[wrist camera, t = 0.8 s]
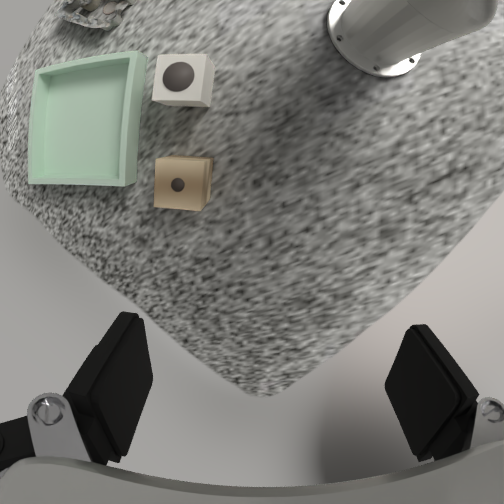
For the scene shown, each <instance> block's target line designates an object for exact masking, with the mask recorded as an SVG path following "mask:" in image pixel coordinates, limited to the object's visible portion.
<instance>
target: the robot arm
mask: <svg viewBox="0 0 504 504" xmlns="http://www.w3.org/2000/svg"><path fill="white" fill-rule="evenodd" d="M340 4H341V5H340ZM497 6H498V0H336V1H335V2H334V3H333V4H332V6H331V8H330V10H329V13H328V16H327V27H328V32H329V35H330V38H331V40H332V42H333V44H334V46H335V47H336V49H337V50H338V51H339V52H340V54H341V55H342V56H343V57H344V58H345V59H346V60H347V61H348V62H349V63H351V64H352V65H354V66H355V67H357V68H358V69H360V70H362V71H364V72H366V73H369V74H372V75H375V76H379V77H396V76H400V75H402V74H405V73H407V72H409V71H410V70H412V69H413V68H414V67H415V66H416V65H417V63H418V61H419V59H420V56H421V53H422V52H424V51H426V50H429V49H431V48H434V47H436V46H438V45H441V44H443V43H446V42H448V41H451V40H454V39H456V38H459V37H462V36H464V35H467V34H470V33H472V32H475V31H478V30H480V29H482V28H484V27H486V26H487V25H488V24H489V23H490V22H491V21H492V19H493V18H494V16H495V13H496V10H497ZM337 39H339V40H340V41H338V40H337ZM409 61H410V62H409ZM373 68H375V69H376V71H375V70H374V69H373ZM152 381H153V373H152V368H151V363H150V357H149V351H148V345H147V339H146V333H145V326H144V320H143V319H142V318H139V316H138V314H137V313H130V312H121V313H120V314H119V315H118V317H117V318H116V320H115V321H114V322H113V324H112V325H111V327H110V328H109V329H108V331H107V332H106V334H105V335H104V337H103V338H102V340H101V341H100V342H99V344H98V345H96V346H95V347H94V348H93V349H92V351H91V352H90V354H89V355H88V357H87V358H86V360H85V361H84V363H83V365H82V366H81V368H80V369H79V370H78V372H77V374H76V375H75V377H74V378H73V380H72V381H71V383H70V384H69V387H68V388H67V389H66V391H65V392H64V394H63V396H61V395H59V394H56V393H44V394H42V395H39V396H38V397H36V398H35V399H34V400H32V402H31V403H30V404H29V406H28V409H27V416H24V417H21V418H18V419H14V420H11V421H7V422H4V423H0V504H504V405H503V404H502V403H501V402H500V401H499V400H497V399H495V398H490V397H487V398H483V399H481V400H480V401H479V402H478V403H477V401H476V399H477V397H478V396H479V393H478V392H477V390H476V389H475V387H474V386H473V384H472V383H471V382H470V380H469V379H468V377H467V376H466V375H465V373H464V372H463V371H462V369H461V368H460V367H459V366H458V364H457V363H456V361H455V360H454V359H453V357H452V356H451V355H450V353H449V352H448V351H447V350H446V348H445V347H444V346H443V344H442V343H441V342H440V341H439V339H438V338H437V337H436V336H435V334H434V333H433V332H432V331H431V329H430V328H429V327H428V326H427V325H425V324H423V325H412V326H411V327H410V329H408V330H407V331H406V332H405V335H404V338H403V340H402V343H401V346H400V349H399V351H398V353H397V356H396V358H395V361H394V363H393V365H392V368H391V370H390V372H389V375H388V377H387V379H386V382H385V390H386V393H387V395H388V397H389V399H390V401H391V404H392V406H393V408H394V411H395V413H396V415H397V418H398V420H399V422H400V425H401V427H402V429H403V432H404V434H405V436H406V439H407V441H408V444H409V446H410V449H411V451H412V453H413V455H415V456H417V459H418V461H419V462H421V461H424V460H427V459H431V458H432V456H433V457H434V462H431V463H427V464H424V465H421V466H417V467H414V468H410V469H406V470H402V471H398V472H394V473H390V474H385V475H380V476H375V477H370V478H365V479H359V480H353V481H346V482H339V483H331V484H321V485H310V486H295V487H237V486H222V485H221V486H220V485H210V484H201V483H192V482H185V481H179V480H172V479H166V478H160V477H155V476H149V475H144V474H140V473H135V472H131V471H126V470H123V469H118V468H114V467H109V466H106V465H107V463H108V460H110V461H113V462H117V463H119V462H120V459H121V456H126V455H127V453H128V450H129V448H130V444H131V442H132V439H133V436H134V433H135V430H136V427H137V424H138V421H139V419H140V416H141V413H142V410H143V407H144V405H145V402H146V399H147V397H148V394H149V391H150V389H151V386H152Z"/></svg>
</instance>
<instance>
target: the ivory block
mask: <svg viewBox="0 0 504 504" xmlns="http://www.w3.org/2000/svg"><path fill="white" fill-rule="evenodd" d="M214 73H215V66H214V65H213V63H212V62H211V60H210V58H209V57H208V55H207V54H166V55H158V58H157V65H156V71H155V78H154V86H153V94H152V101H155V102H158V103H161V104H164V105H167V106H191V107H210V105H211V97H212V89H213V81H214Z"/></svg>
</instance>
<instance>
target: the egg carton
mask: <svg viewBox="0 0 504 504" xmlns="http://www.w3.org/2000/svg"><path fill="white" fill-rule="evenodd" d="M136 1H137V0H124V1H121V2H120V3H119V4H117V2H109V3H108V4H106V5H105V7H104V9H103V13H104V14H106V15H108V14H111V13H113V12H115V13H116V17H115V18H114V19H109V20H105V21H104V22H103V21H101V20H100V19H98V18H96V17H92V16H89V17H88V18H86V17H84V16H82V15H80V14H79V13H77V12H75V13H72V12H73V11H74V9H77V8H79V7H80V6H81V7H82V8H84V9H86V10H88V11H94V10H95V9H97V8H98V7H99V5H100V3H101V1H100V0H66V1H65V2H64V3H63V6H62V7H61V8H60V9H59V10H58V12H57V13H56V14H55V16H57V17H59V18H61V19H63V20H66V21H69V22H72V23H76V24H79V25H82V26H85V27H90V28H101V29H103V30H106V31H109V30H110V29H111V28H112V27H114V26H117V25H120V24H121V22H122V21H123V19H122V18H121V12H122V10H123V9H124V8H125V7H127V6H130V5H134V3H135V2H136Z"/></svg>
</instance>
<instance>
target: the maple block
mask: <svg viewBox="0 0 504 504" xmlns="http://www.w3.org/2000/svg"><path fill="white" fill-rule="evenodd" d="M212 169H213V158H208V157H194V156H177V155H171V156H166V157H162V158H157V159H156V164H155V183H154V207H159V208H171V209H182V210H192V211H201V210H202V209H203V208H204V206H205V205H206V204H207V203H208V201H209V200H210V192H211V180H212Z"/></svg>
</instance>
